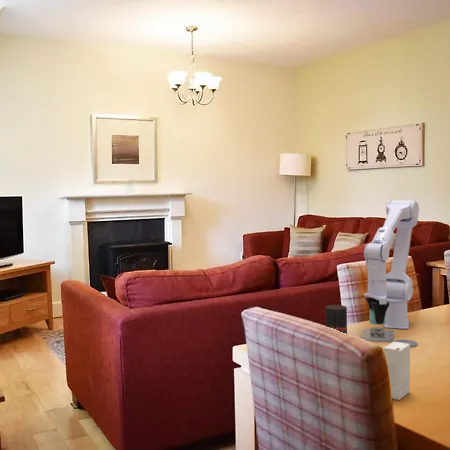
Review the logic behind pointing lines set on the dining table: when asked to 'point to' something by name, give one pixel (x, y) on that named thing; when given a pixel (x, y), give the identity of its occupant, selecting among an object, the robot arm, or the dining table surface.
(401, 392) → the skincare box
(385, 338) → the post plinth
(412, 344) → the coaster
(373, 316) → the cap
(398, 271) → the robot arm
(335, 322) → the deodorant
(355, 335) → the dining table surface
